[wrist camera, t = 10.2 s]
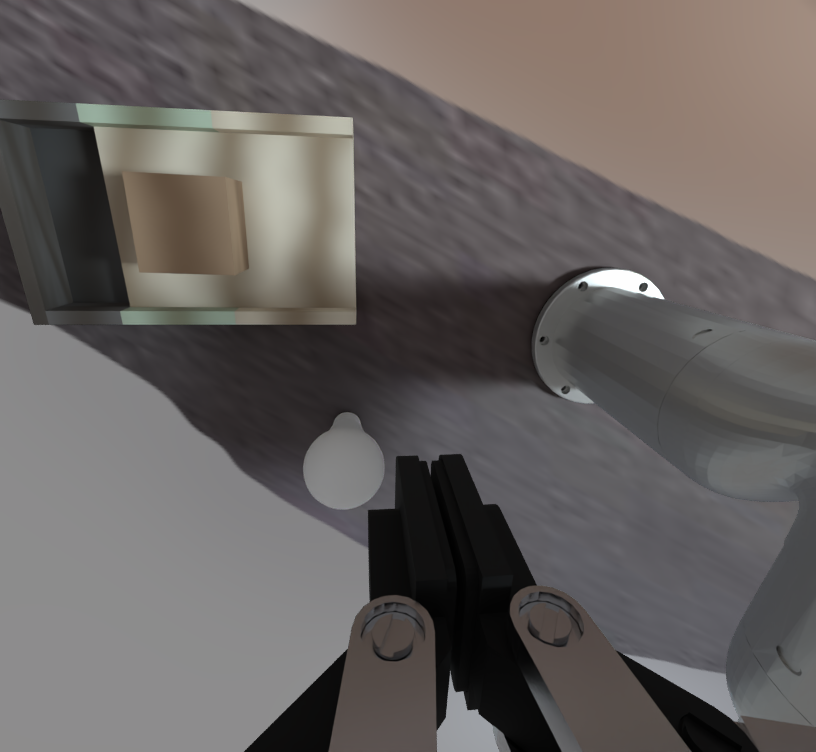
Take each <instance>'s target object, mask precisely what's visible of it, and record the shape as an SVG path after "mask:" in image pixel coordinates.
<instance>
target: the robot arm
mask: <svg viewBox="0 0 816 752" xmlns="http://www.w3.org/2000/svg"><path fill="white" fill-rule="evenodd" d="M579 284H580V287H579V288H578V285H579ZM542 336H543V339H542V340H540V338H541V337H542ZM532 357H533V362H534V366H535V368H536V370H537V372H538V375H539V376H540V378H541V379H542V380H543V382H544V383H545V384H546V385H547V386H548V387H549V388H550V389H551V390H552V391H553V392H555V393H556V394H557V395H559V396H560V397H562V398H564V399H567V400H570V401H572V402H577V403H583V404H597V405H598V406H599V407H601V408H602V409H603V410H604V411H606V412H607V413H608V414H609V415H611V416H612V417H613V418H614V419H616V420H617V421H618V422H619V423H621V424H622V425H623V426H624V427H626V428H627V429H628V430H629V431H631V432H632V433H633V434H634V435H636V436H637V437H638V438H639V439H641V440H642V441H643V442H644V443H646V444H647V445H648V446H649V447H651V448H652V449H653V450H654V451H656V452H657V453H658V454H659V455H661V456H662V457H663V458H665V459H666V460H667V461H668V462H670V463H671V464H672V465H674V466H675V467H676V468H678V469H679V470H680V471H681V472H683V473H684V474H685V475H686V476H688V477H689V478H690V479H692V480H693V481H695V482H696V483H698V484H699V485H701V486H703V487H705V488H707V489H709V490H711V491H713V492H716V493H718V494H721V495H724V496H727V497H731V498H735V499H741V500H749V501H759V502H789V501H799V510H798V514H797V517H796V519H795V521H794V523H793V525H792V527H791V529H790V531H789V533H788V535H787V537H786V538H785V541H784V546H783V548H782V550H781V551H780V553H779V555H778V557H777V558H776V560H775V562H774V563H773V565H772V567H771V569H770V570H769V572H768V574H767V575H766V577H765V579H764V581H763V582H762V584H761V586H760V587H759V589H758V591H757V593H756V594H755V596H754V598H753V599H752V601H751V603H750V605H749V606H748V608H747V610H746V612H745V614H744V616H743V617H742V619H741V621H740V623H739V625H738V627H737V629H736V631H735V633H734V636H733V638H732V640H731V643H730V646H729V649H728V654H727V660H726V679H727V685H728V690H729V694H730V697H731V700H732V703H733V705H734V708H735V710H736V712H737V714H738V717H739V719H738V722H734V721H732V720H731V719H730V718H729V717H727V716H726V715H725V714H723V713H722V712H720V711H719V710H718V709H716V708H715V707H713V706H712V705H710V704H708V703H706V702H705V701H703V700H701V699H700V698H698V697H696V696H694V695H693V694H691V693H689V692H687V691H686V690H684V689H682V688H680V687H679V686H677V685H675V684H674V683H672V682H670V681H668V680H667V679H665V678H663V677H661V676H660V675H658V674H656V673H654V672H653V671H651V670H649V669H647V668H646V667H644V666H642V665H641V664H639V663H637V662H635V661H634V660H632V659H630V658H629V657H627V656H625V655H623V654H622V653H620V652H618V651H616V650H615V649H614V648H613V646H612V645H611V644H610V642H609V641H608V640H607V638H606V637H605V635H604V634H603V633H602V631H601V630H600V629H599V627H598V626H597V625H596V623H595V622H594V621H593V619H592V618H591V617H590V615H589V614H588V613H587V611H586V610H585V609H584V608H583V607H582V606H581V605H580V604H579V603H578V601H577V600H575V599H574V598H572V597H571V596H570V595H568V594H567V593H565V592H563V591H560V590H558V589H556V588H553V587H548V586H543V585H536V583H535V581H534V579H533V576H532V574H531V572H530V570H529V568H528V566H527V564H526V562H525V560H524V558H523V556H522V553H521V551H520V549H519V547H518V545H517V543H516V541H515V539H514V537H513V535H512V533H511V530H510V528H509V526H508V524H507V522H506V520H505V518H504V516H503V514H502V512H501V510H500V508H499V506H498V505H496V504H488V505H483V503H482V501H481V498H480V496H479V494H478V491H477V489H476V487H475V484H474V482H473V480H472V477H471V475H470V473H469V470H468V468H467V465H466V463H465V461H464V458H463V456H462V455H461V454H451V455H440V456H439V461H432V463H431V476H430V473H429V469H428V465H427V462H426V461H419V458H418V456H397V457H396V482H395V509H380V510H368V547H369V592H370V602H369V603H368V604H366V605H365V606H364V607H363V608H362V609H361V610H360V612H359V613H358V614H357V615H356V617H355V620H354V623H353V625H352V629H351V635H350V640H349V645H348V649H347V650H346V651H345V652H344V653H343V654H342V655H341V656H340V657H339V658H338V659H337V660H336V661H335V662H334V663H333V664H332V665H331V666H330V667H329V668H328V669H327V670H326V671H325V672H324V673H323V674H322V675H321V676H320V677H319V678H318V679H317V680H316V681H315V682H314V683H313V684H312V685H311V686H310V687H309V688H308V689H307V690H306V691H305V692H304V693H303V694H302V695H301V696H300V697H299V698H298V699H297V700H296V701H295V702H294V703H292V704H291V706H290V707H288V708H287V709H286V711H284V712H283V713H282V714H281V715H280V716H279V717H278V718H277V719H276V720H275V721H274V723H272V724H271V725H270V727H268V729H266V730H265V731H264V732H263V733H262V734H261V735H260V736H259V737H258V738H257V739H256V740H255V741H254V742H253V743H252V744H251V745H250V746H249V747H248V748H247V749H246V750H245V751H244V752H437V733H436V732H437V730H438V728H439V727H440V725H441V723H442V722H443V721H444V719H445V718H446V708H447V696H448V687H449V676H450V671H451V676H452V682H453V686H454V689H455V691H456V692H460V691H464V696H465V700H466V704H467V709H468V710H475V709H478V712H479V714H480V715H481V716H482V717H483V718H485V719H486V720H487V721H488V722H490V723H491V724H492V725H493V732H494V736H495V740H496V743H497V746H498V749H499V751H500V752H816V341H815V340H811V339H807V338H803V337H800V336H796V335H792V334H789V333H785V332H781V331H777V330H774V329H770V328H767V327H763V326H759V325H756V324H752V323H748V322H745V321H741V320H737V319H734V318H730V317H726V316H723V315H719V314H716V313H712V312H708V311H705V310H701V309H697V308H694V307H690V306H686V305H683V304H679V303H675V302H672V301H668V300H665V299H664V297H663V295H662V294H661V292H660V290H659V289H658V288H657V287H656V286H655V285H654V283H653V282H652V281H651V280H649V279H647V278H646V277H644V276H643V275H641V274H639V273H636V272H633V271H631V270H627V269H621V268H600V269H594V270H590V271H588V272H585V273H582V274H580V275H578V276H576V277H574V278H573V279H571V280H569V281H568V282H566V283H565V284H564V285H563V286H561V287H560V288H559V289H558V290H557V291H556V292H555V293H554V294H553V295H552V296H551V297H550V299H549V300H548V301H547V302H546V304H545V305H544V307H543V309H542V310H541V312H540V314H539V316H538V318H537V321H536V324H535V327H534V330H533V336H532ZM562 387H563V388H562Z"/></svg>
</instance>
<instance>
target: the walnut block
mask: <svg viewBox="0 0 816 752" xmlns="http://www.w3.org/2000/svg"><path fill="white" fill-rule="evenodd" d="M122 175H123V181H124V187H125V192H126V198H127V204H128V210H129V216H130V222H131V228H132V233H133V239H134V245H135V251H136V257H137V263H138V268H139V272H140V273H172V274H204V275H237V274H239V273H241V272H243V271H245V270H247V269H249V261H248V249H247V237H246V225H245V213H244V201H243V188H242V182H241V181H238V180H234V179H231V178H227V177H217V176H199V175H181V174H164V173H146V172H128V171H122Z"/></svg>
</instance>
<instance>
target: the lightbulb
mask: <svg viewBox="0 0 816 752" xmlns="http://www.w3.org/2000/svg"><path fill="white" fill-rule="evenodd" d="M384 472H385V462H384V457H383V453H382V451H381V449H380V447H379V445H378V444H377V442H376V441H375V440H374V439H373V438H372V437H371V436H370V435H368V434H367V433H365V432H364V430H363V428H362V427H361V422H360V419H359V418H358V416H357V415H355V414H353V413H350V412H344V413H341V414H339V415H338V416H337V417H336V418H335V420H334V422H333V425H332V426H331V428H330V430H329V431H327V432H325V433H323V434H322V435H320V436H319V437H318V438H317V439H316V440H315V441H314V442H313V443H312V444H311V446H310V447H309V449H308V451H307V453H306V456H305V459H304V464H303V473H304V480H305V483H306V486H307V488H308V490H309V491H310V493H311V495H312V496H313V497H314V498H315V499H316V500H318V501H319V502H321V503H322V504H323V505H326V506H328V507H330V508H334V509H351V508H355V507H358V506H360V505H362V504H364V503H365V502H367V501H368V500H370V499H371V498H372V497H373V496H374V495H375V493H376V492H377V491H378V489H379V487H380V485H381V483H382V481H383V477H384Z"/></svg>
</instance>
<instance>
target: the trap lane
mask: <svg viewBox="0 0 816 752" xmlns="http://www.w3.org/2000/svg"><path fill="white" fill-rule="evenodd" d="M122 171H128V172H146V173H164V174H181V175H199V176H217V177H227V178H231V179H234V180H238V181H241V182H242V188H243V201H244V213H245V225H246V237H247V249H248V261H249V269H247V270H245V271H243V272H241V273H239V274H237V275H204V274H172V273H140V272H139V268H138V263H137V257H136V251H135V245H134V239H133V233H132V228H131V222H130V216H129V210H128V204H127V198H126V192H125V187H124V181H123V175H122ZM0 208H1V212H2V215H3V219H4V222H5V226H6V229H7V233H8V236H9V240H10V243H11V247H12V250H13V254H14V257H15V260H16V264H17V267H18V271H19V274H20V278H21V281H22V285H23V288H24V292H25V295H26V299H27V302H28V306H29V309H30V313H31V316H32V319H33V323H34V325H356V260H355V201H354V142H353V118H348V117H329V116H310V115H290V114H271V113H252V112H232V111H213V110H194V109H174V108H155V107H136V106H116V105H97V104H77V103H58V102H39V101H19V100H0Z"/></svg>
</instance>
